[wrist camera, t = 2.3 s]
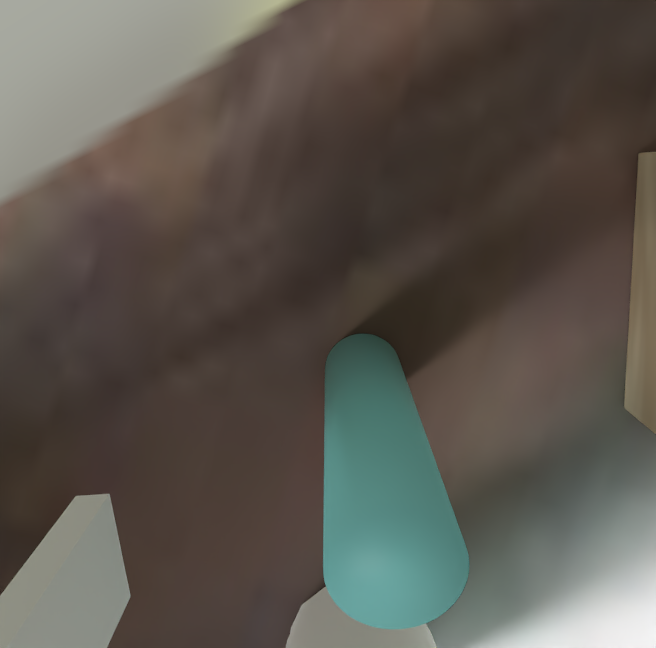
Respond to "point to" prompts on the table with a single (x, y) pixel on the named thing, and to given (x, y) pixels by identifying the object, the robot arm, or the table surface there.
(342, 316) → the table surface
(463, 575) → the peg
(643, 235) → the hole block
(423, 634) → the foam cup
